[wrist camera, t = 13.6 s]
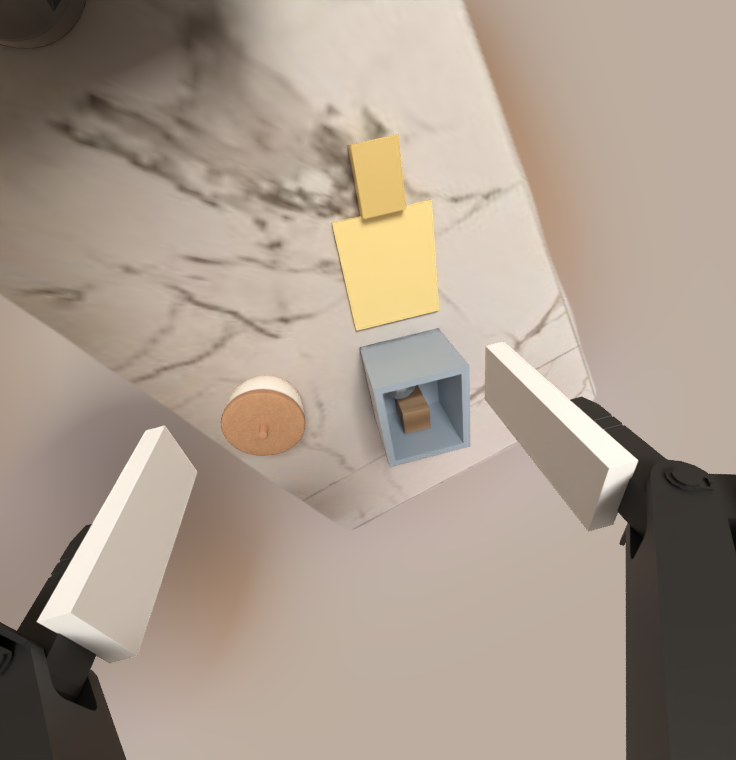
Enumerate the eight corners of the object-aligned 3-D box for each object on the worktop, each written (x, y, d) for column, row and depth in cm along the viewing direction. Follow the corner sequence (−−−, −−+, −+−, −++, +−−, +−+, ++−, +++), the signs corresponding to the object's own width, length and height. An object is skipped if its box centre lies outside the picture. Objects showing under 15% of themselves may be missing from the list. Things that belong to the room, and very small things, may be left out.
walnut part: (393, 390, 54) (402, 413, 49) (417, 384, 54) (429, 407, 49) (395, 409, 56) (405, 433, 51) (419, 404, 56) (430, 427, 51)
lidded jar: (317, 380, 52) (320, 419, 44) (285, 429, 56) (282, 473, 48) (248, 350, 47) (238, 388, 39) (219, 406, 51) (205, 450, 43)
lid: (315, 152, 36) (316, 152, 34) (424, 128, 37) (431, 126, 35) (355, 327, 48) (357, 335, 46) (436, 307, 49) (442, 314, 47)
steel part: (375, 357, 50) (384, 379, 45) (401, 350, 50) (413, 371, 45) (381, 379, 52) (389, 402, 47) (406, 372, 52) (417, 394, 47)
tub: (359, 347, 50) (373, 389, 41) (438, 328, 50) (469, 365, 41) (375, 418, 57) (389, 467, 48) (443, 401, 58) (470, 446, 49)
